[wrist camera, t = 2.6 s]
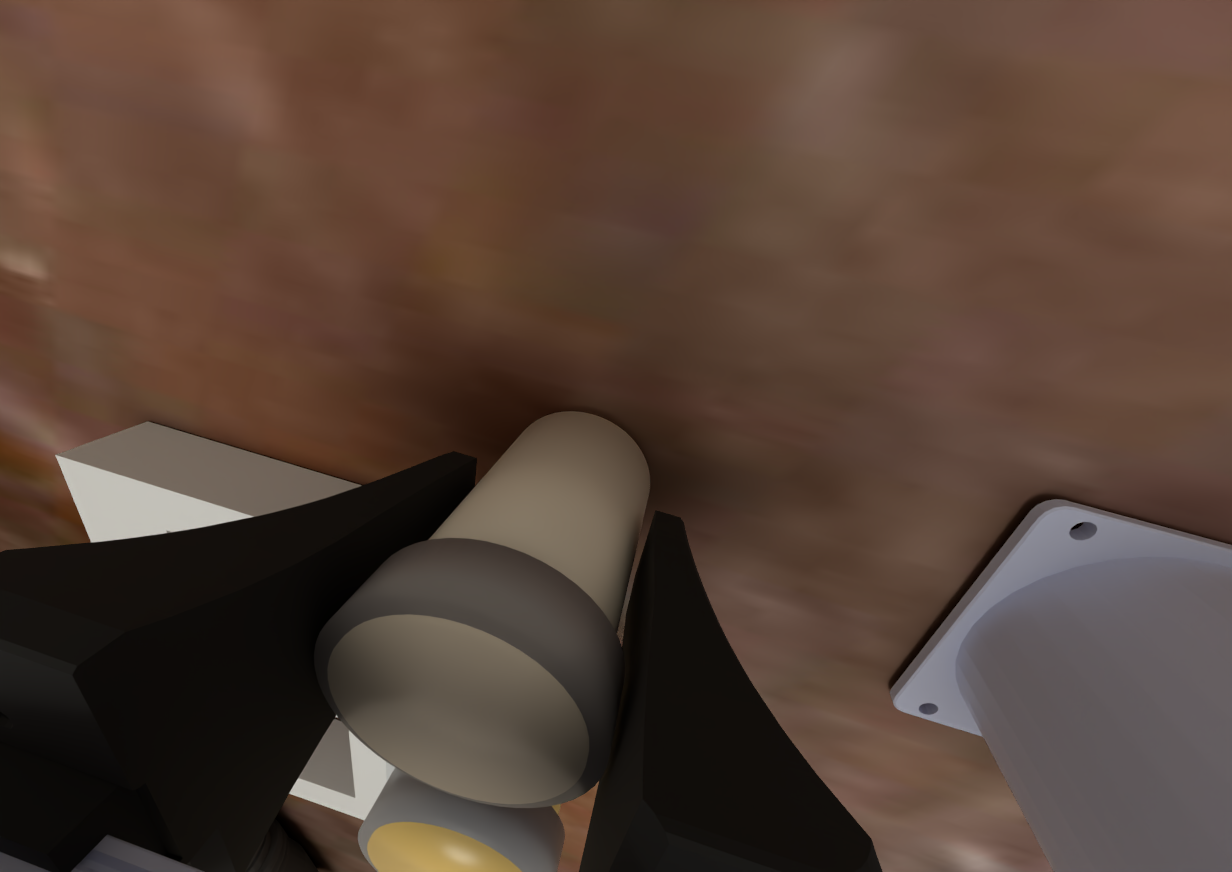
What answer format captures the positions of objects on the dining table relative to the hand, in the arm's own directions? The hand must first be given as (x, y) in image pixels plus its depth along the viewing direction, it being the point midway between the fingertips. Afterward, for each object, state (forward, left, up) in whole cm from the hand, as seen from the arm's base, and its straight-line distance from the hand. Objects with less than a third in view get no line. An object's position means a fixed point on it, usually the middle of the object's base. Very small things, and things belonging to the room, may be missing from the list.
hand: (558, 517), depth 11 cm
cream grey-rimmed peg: (0, 0, -2) cm, 2 cm away
